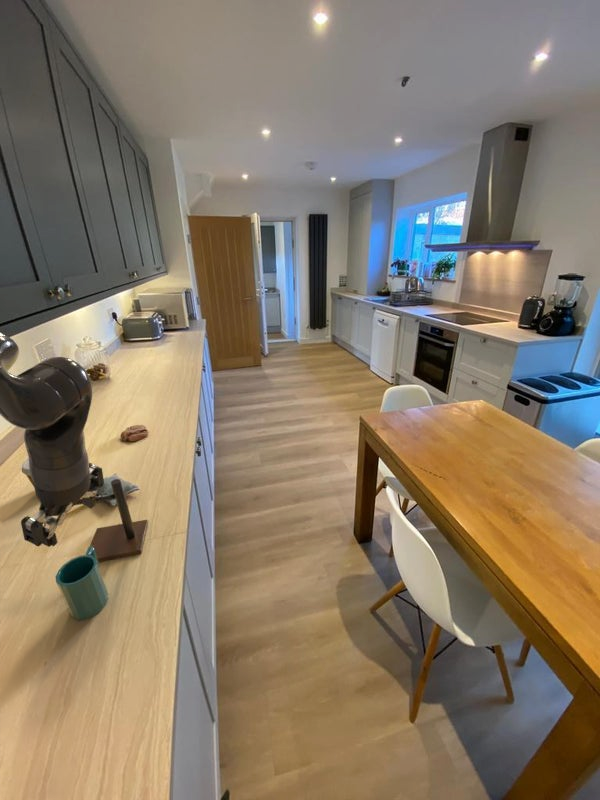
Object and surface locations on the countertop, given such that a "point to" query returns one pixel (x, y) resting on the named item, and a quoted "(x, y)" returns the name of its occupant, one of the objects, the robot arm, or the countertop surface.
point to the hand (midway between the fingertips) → (70, 523)
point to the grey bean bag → (107, 489)
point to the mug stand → (119, 530)
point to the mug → (83, 585)
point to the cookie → (134, 433)
